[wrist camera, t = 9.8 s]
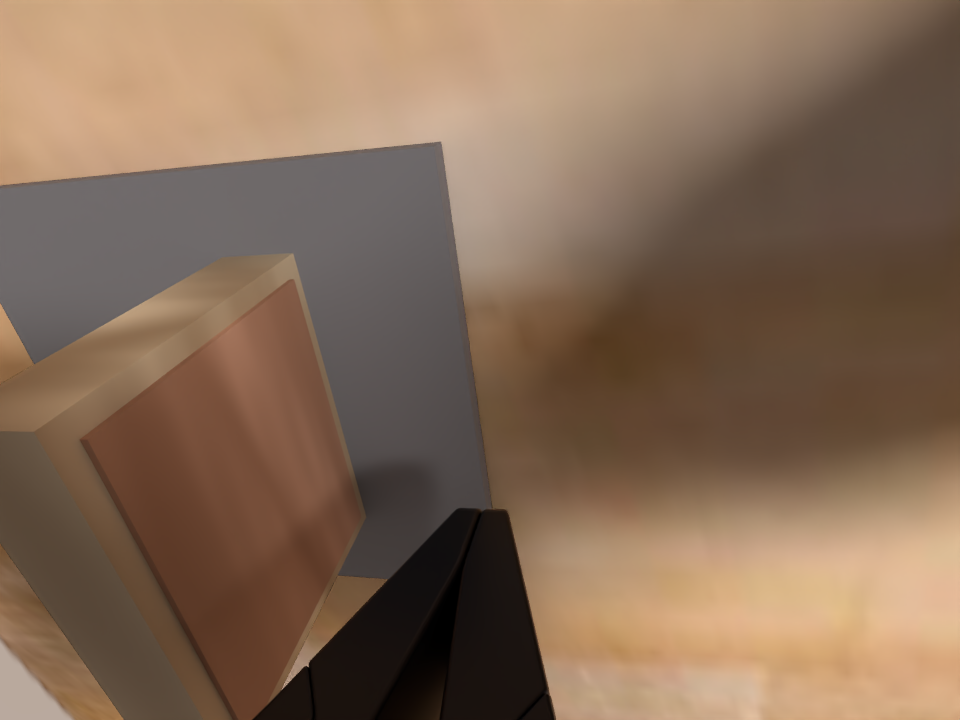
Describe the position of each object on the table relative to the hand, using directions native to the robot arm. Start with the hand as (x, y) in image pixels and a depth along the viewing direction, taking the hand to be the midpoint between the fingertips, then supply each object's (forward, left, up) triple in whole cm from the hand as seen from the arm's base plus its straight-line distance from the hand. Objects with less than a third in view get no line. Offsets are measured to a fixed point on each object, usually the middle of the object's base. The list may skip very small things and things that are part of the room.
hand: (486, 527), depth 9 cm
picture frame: (+5, 0, -3) cm, 6 cm away
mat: (+6, 0, -4) cm, 7 cm away
